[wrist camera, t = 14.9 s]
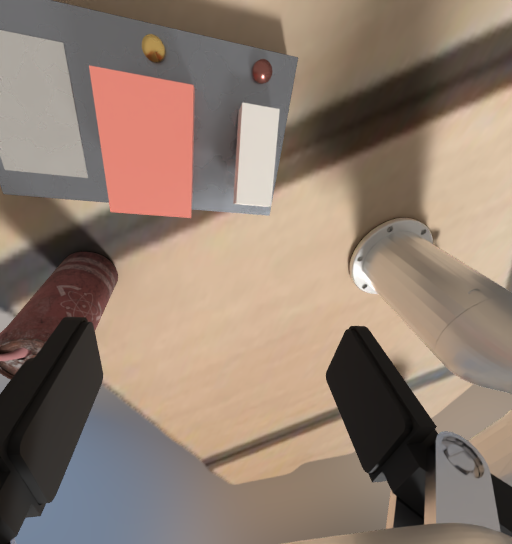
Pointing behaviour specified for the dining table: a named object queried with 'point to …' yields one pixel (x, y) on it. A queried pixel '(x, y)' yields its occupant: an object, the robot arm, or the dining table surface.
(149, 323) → the dining table surface
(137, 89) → the cap
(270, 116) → the block
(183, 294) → the dining table surface
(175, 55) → the panel
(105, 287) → the can
